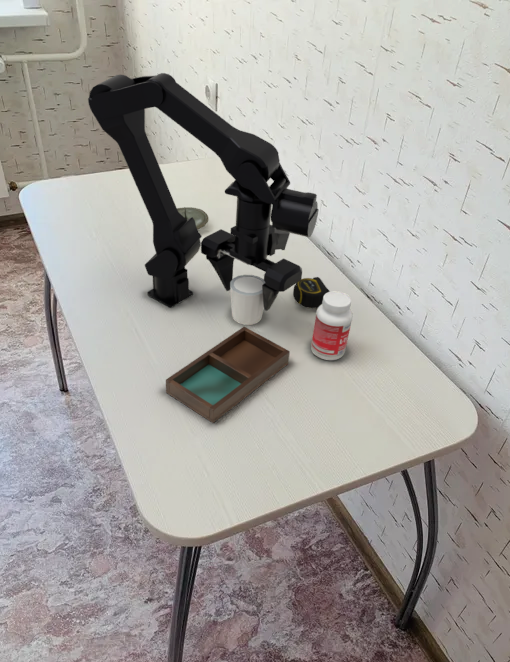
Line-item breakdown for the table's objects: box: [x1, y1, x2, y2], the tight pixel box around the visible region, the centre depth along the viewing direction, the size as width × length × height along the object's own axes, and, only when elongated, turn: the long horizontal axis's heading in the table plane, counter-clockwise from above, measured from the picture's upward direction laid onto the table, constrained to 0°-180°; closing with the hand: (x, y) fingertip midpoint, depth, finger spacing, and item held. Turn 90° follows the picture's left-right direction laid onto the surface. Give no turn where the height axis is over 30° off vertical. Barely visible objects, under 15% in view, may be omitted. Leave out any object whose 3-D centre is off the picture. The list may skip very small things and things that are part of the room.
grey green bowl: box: [176, 206, 209, 231], centre depth 139 cm, size 11×10×5 cm
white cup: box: [229, 274, 265, 326], centre depth 114 cm, size 7×7×7 cm
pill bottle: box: [310, 290, 353, 361], centre depth 106 cm, size 6×6×11 cm
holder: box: [165, 326, 291, 424], centre depth 102 cm, size 10×19×3 cm, turn 141°
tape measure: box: [292, 276, 331, 309], centre depth 120 cm, size 7×7×4 cm
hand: (247, 299), depth 114 cm, fingers open, 9 cm apart
